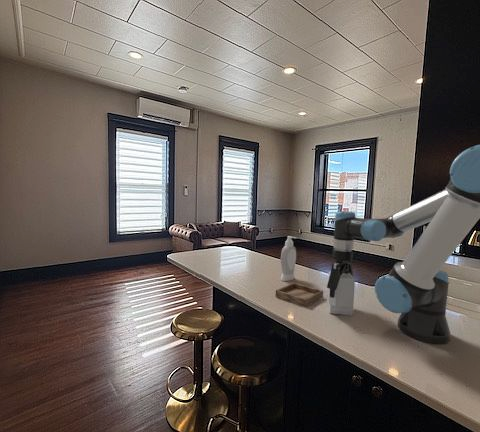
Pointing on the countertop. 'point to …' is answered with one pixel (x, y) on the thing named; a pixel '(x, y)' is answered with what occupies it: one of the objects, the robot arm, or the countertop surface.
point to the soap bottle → (288, 260)
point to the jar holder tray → (299, 294)
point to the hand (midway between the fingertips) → (339, 300)
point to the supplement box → (343, 295)
